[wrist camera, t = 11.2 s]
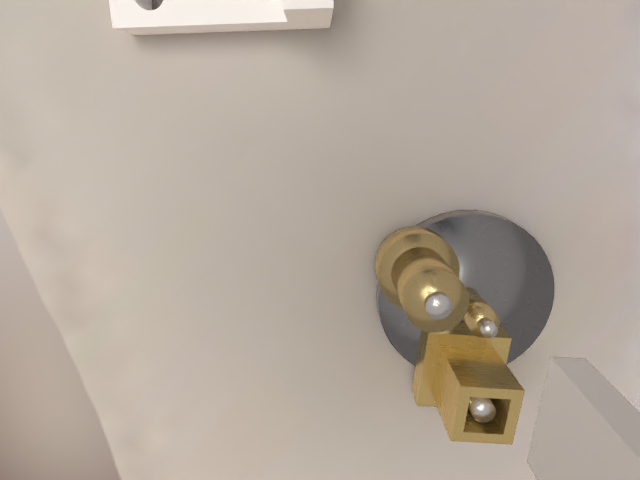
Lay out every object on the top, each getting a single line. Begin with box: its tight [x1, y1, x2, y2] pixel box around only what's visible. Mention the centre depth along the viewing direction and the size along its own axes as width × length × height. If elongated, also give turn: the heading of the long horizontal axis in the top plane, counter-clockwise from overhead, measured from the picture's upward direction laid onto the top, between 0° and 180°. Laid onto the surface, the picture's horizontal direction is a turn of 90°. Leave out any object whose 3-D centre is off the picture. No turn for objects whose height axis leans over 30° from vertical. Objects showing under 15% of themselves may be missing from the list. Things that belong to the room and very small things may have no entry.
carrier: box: [374, 210, 554, 422], centre depth 33 cm, size 13×14×9 cm
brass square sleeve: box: [412, 323, 525, 445], centre depth 34 cm, size 6×6×7 cm
